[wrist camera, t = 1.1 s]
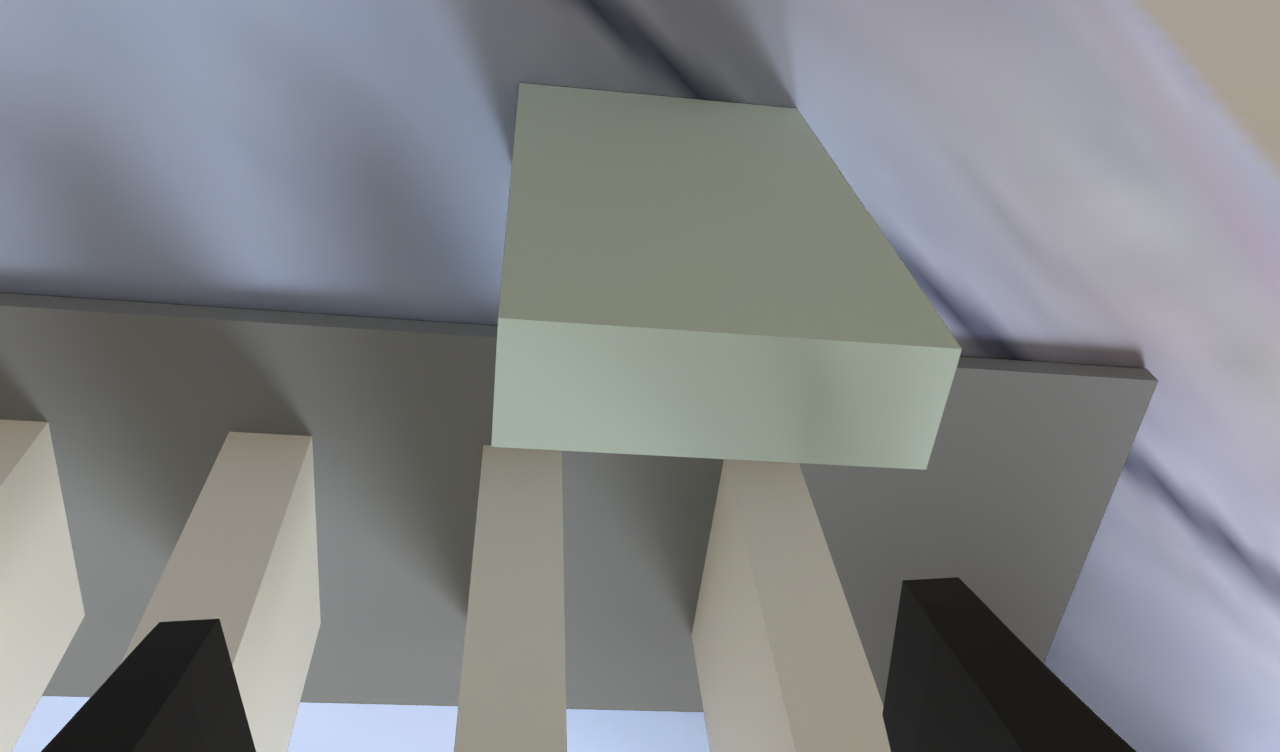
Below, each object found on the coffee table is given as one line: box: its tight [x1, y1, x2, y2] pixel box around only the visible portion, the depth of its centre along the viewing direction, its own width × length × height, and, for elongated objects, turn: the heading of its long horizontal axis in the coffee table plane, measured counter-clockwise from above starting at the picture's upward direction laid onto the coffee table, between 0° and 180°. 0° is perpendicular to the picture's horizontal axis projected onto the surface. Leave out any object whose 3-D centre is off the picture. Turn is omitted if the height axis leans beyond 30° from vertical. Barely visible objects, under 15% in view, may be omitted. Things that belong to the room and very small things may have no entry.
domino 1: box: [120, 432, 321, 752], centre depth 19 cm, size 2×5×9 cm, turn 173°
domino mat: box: [0, 293, 1158, 712], centre depth 23 cm, size 27×10×1 cm, turn 84°
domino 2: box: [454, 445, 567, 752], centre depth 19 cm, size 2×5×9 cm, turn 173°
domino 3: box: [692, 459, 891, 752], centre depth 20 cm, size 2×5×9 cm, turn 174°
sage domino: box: [491, 83, 962, 470], centre depth 16 cm, size 2×5×9 cm, turn 84°
